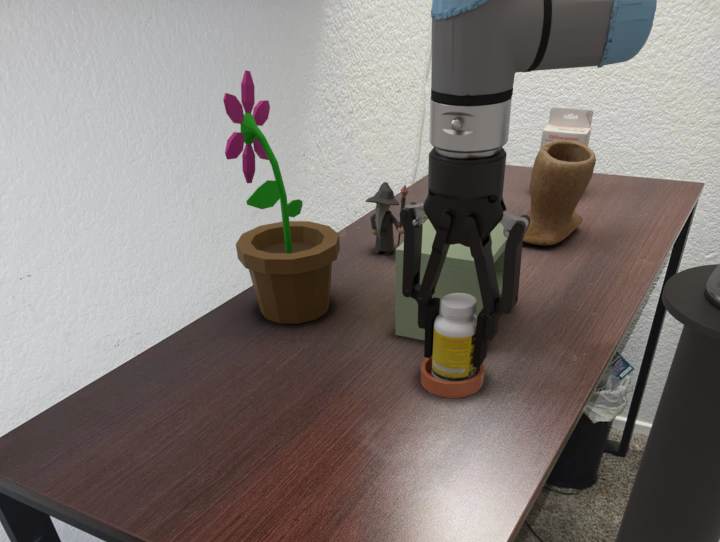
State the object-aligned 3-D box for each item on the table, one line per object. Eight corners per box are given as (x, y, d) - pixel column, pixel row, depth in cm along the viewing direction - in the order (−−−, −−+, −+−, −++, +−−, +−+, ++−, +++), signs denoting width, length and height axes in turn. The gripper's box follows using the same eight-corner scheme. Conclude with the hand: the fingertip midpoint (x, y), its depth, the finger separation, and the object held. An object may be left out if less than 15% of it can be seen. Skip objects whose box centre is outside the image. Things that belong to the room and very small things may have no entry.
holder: (490, 372, 82) (492, 358, 81) (471, 403, 77) (472, 389, 76) (433, 360, 85) (434, 346, 84) (411, 390, 80) (411, 375, 79)
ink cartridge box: (532, 194, 132) (543, 112, 122) (538, 186, 135) (549, 106, 126) (576, 198, 129) (590, 115, 119) (580, 191, 132) (595, 108, 123)
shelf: (509, 306, 96) (519, 223, 88) (479, 351, 86) (488, 263, 78) (431, 293, 100) (434, 212, 92) (395, 335, 90) (395, 249, 82)
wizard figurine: (361, 254, 112) (358, 180, 104) (377, 243, 115) (375, 170, 107) (404, 263, 108) (405, 187, 101) (419, 251, 112) (421, 176, 104)
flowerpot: (273, 282, 105) (245, 61, 85) (357, 293, 100) (348, 64, 81) (228, 322, 95) (185, 83, 75) (320, 337, 90) (299, 87, 71)
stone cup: (563, 257, 108) (580, 159, 98) (498, 242, 114) (508, 148, 104) (598, 228, 117) (617, 136, 107) (537, 216, 123) (549, 127, 113)
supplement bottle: (475, 388, 78) (481, 312, 72) (429, 385, 79) (432, 310, 73) (477, 364, 82) (483, 290, 76) (434, 361, 83) (436, 288, 77)
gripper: (365, 150, 64) (372, 357, 80) (554, 166, 58) (522, 388, 73) (395, 131, 69) (396, 329, 85) (572, 144, 63) (539, 356, 78)
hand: (455, 356), depth 79 cm, fingers closed on supplement bottle, 5 cm apart
